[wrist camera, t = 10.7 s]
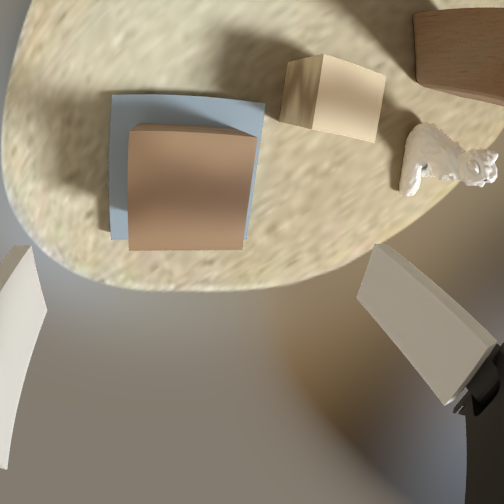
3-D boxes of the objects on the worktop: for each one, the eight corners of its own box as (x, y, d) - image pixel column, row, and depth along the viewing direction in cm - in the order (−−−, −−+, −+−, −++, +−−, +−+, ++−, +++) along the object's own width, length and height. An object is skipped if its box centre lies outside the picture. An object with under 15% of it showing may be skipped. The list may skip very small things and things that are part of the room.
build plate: (115, 95, 21) (112, 94, 20) (260, 103, 25) (265, 103, 24) (113, 233, 27) (111, 240, 26) (242, 232, 31) (246, 239, 30)
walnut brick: (139, 123, 22) (129, 130, 16) (234, 127, 24) (257, 137, 18) (136, 213, 25) (129, 250, 19) (223, 214, 28) (242, 249, 22)
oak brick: (287, 62, 24) (323, 53, 18) (341, 76, 25) (385, 76, 20) (278, 121, 26) (311, 129, 20) (332, 131, 28) (374, 142, 22)
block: (412, 85, 27) (566, 119, 11) (408, 10, 22) (557, 9, 6) (459, 97, 30) (584, 135, 13) (457, 32, 25) (581, 48, 8)
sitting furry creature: (396, 196, 34) (467, 238, 24) (384, 132, 30) (467, 158, 19) (443, 170, 34) (510, 202, 24) (434, 111, 30) (511, 132, 20)
